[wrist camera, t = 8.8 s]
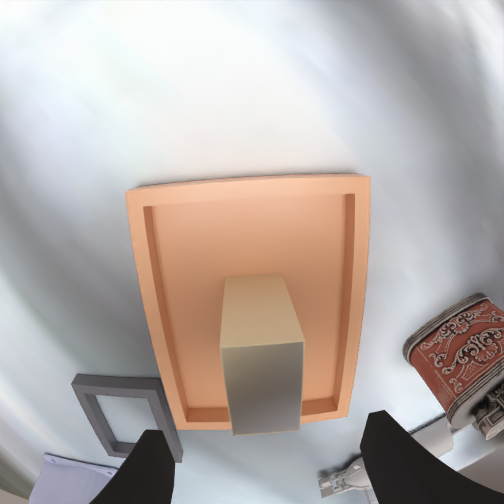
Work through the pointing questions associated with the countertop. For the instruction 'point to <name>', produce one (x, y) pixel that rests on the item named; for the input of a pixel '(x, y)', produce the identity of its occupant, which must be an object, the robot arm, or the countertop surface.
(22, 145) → the countertop surface
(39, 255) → the countertop surface
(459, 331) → the lighter
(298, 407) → the tan rectangular block
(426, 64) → the countertop surface
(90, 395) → the socket
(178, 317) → the parts tray
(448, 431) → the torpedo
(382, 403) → the countertop surface
